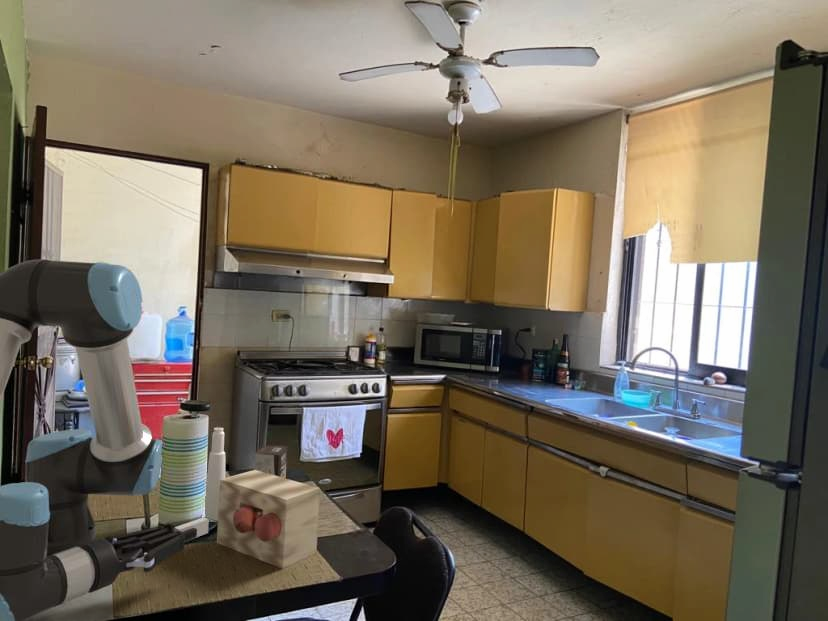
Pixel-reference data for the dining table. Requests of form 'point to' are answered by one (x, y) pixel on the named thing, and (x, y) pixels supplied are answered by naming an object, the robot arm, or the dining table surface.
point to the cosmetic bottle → (215, 474)
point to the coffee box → (271, 460)
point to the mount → (270, 517)
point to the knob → (246, 518)
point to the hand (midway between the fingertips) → (205, 525)
